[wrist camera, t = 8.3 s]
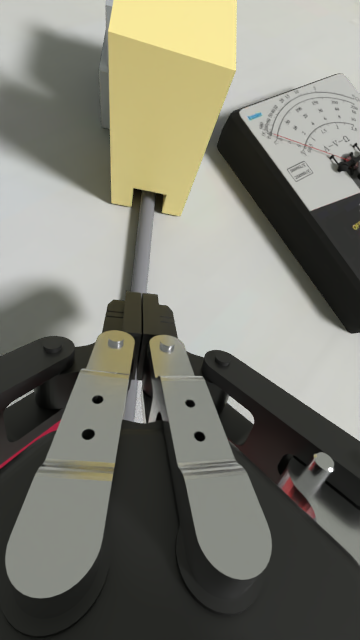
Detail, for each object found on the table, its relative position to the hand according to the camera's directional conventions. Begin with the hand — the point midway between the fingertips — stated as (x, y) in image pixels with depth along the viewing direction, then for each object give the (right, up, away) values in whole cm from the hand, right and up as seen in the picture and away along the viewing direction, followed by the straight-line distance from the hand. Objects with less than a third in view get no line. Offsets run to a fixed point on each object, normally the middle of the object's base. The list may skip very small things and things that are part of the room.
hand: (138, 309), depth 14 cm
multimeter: (+15, +9, +12) cm, 21 cm away
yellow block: (0, +10, +7) cm, 12 cm away
